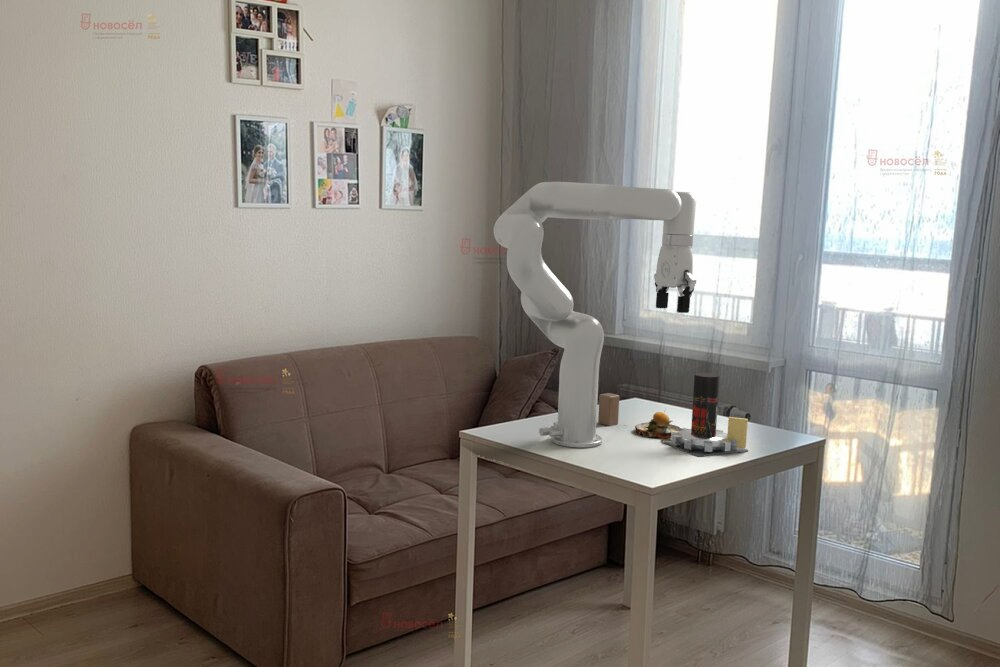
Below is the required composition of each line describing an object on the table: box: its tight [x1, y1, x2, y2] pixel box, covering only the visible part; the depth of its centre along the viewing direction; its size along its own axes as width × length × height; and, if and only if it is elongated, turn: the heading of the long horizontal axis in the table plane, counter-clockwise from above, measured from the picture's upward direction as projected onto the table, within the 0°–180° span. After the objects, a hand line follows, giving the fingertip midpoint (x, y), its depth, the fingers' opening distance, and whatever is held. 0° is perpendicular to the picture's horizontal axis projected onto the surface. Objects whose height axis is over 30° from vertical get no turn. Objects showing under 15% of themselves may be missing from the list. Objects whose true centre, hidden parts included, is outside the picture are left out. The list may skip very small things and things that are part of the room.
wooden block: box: [597, 392, 620, 427], centre depth 246 cm, size 4×4×8 cm
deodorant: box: [690, 372, 720, 438], centre depth 225 cm, size 6×6×15 cm
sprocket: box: [671, 416, 749, 452], centre depth 225 cm, size 18×16×7 cm
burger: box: [634, 408, 681, 440], centre depth 238 cm, size 12×12×8 cm
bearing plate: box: [660, 438, 749, 458], centre depth 226 cm, size 16×15×1 cm
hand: (672, 310), depth 232 cm, fingers open, 9 cm apart
